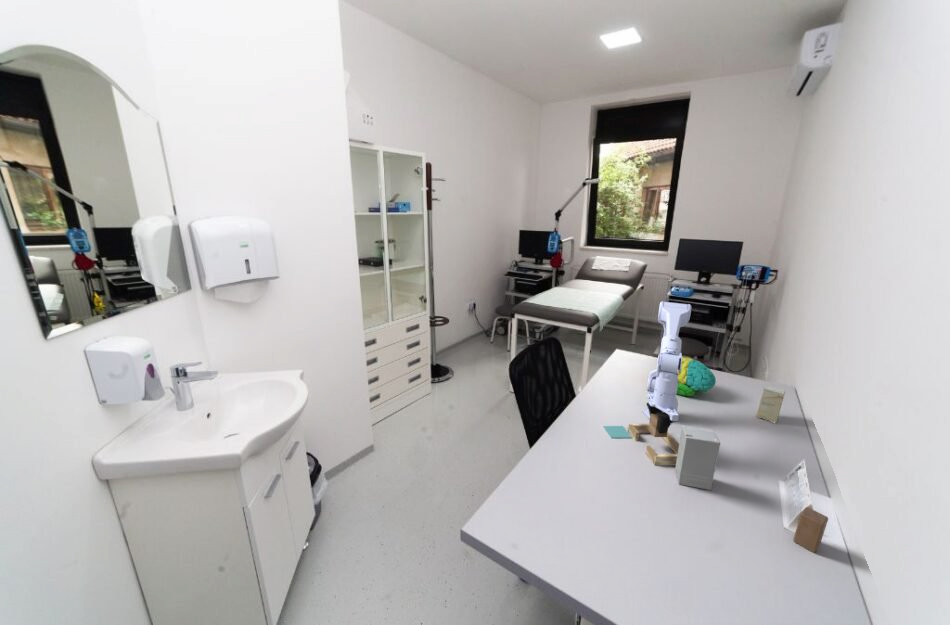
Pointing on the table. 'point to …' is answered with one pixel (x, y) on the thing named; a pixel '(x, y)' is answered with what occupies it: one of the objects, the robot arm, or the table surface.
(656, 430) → the walnut block
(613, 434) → the mat
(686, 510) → the table surface
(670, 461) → the open wooden frame
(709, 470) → the skincare box
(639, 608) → the table surface
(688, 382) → the brain model
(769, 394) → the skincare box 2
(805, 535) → the wooden block
